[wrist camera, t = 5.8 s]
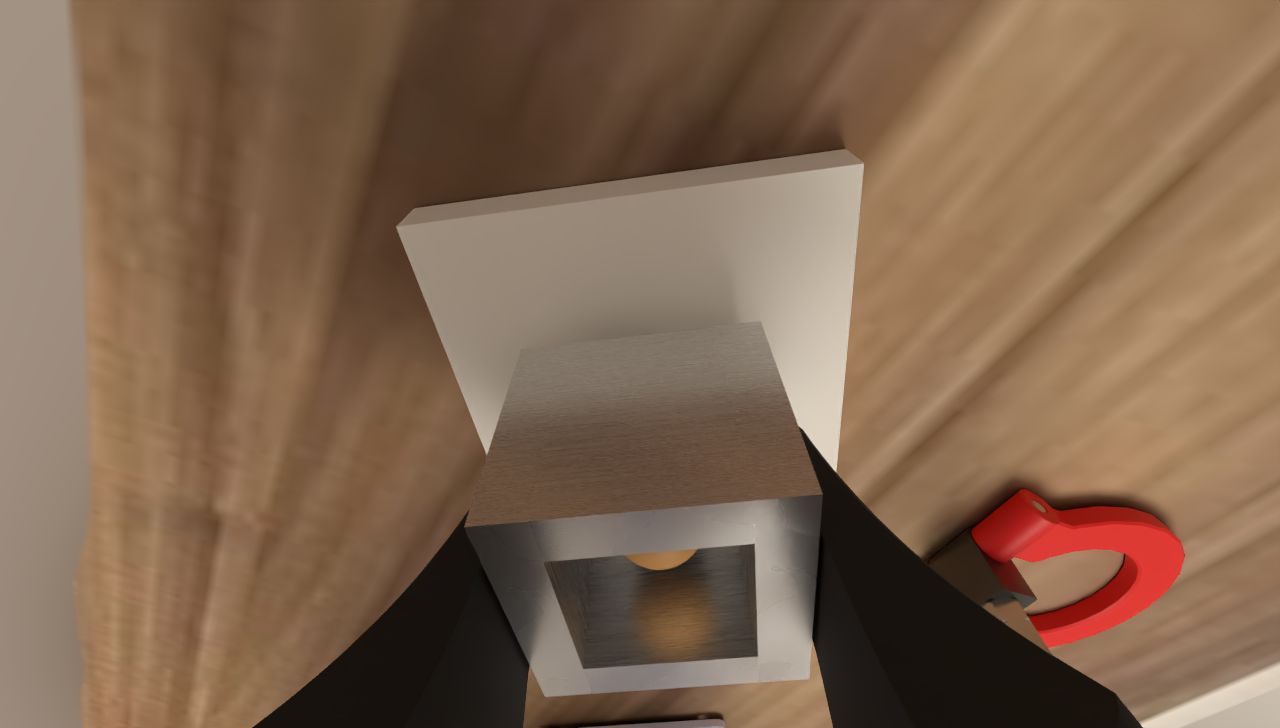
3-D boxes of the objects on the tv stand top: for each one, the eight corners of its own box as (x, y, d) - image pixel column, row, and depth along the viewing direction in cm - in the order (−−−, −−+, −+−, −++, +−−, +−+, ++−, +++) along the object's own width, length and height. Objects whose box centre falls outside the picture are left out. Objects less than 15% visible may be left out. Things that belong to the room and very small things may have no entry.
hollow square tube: (569, 508, 16) (544, 697, 12) (520, 349, 13) (464, 527, 9) (762, 490, 15) (809, 678, 11) (761, 321, 12) (822, 494, 8)
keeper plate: (528, 517, 19) (489, 709, 14) (414, 208, 13) (271, 352, 8) (821, 489, 19) (891, 683, 13) (845, 148, 12) (991, 266, 7)
